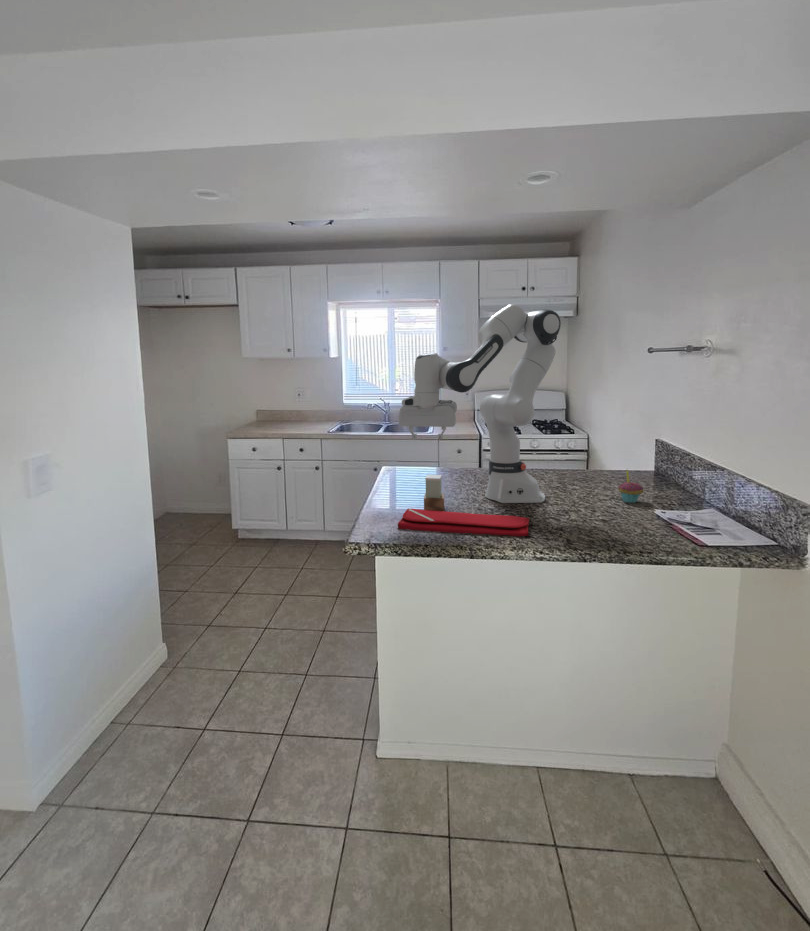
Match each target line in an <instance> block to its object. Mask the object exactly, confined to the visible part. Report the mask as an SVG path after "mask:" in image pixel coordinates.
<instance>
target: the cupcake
mask: <svg viewBox="0 0 810 931" xmlns="http://www.w3.org/2000/svg"><path fill="white" fill-rule="evenodd" d="M626 480H627V481H626V482H623V483H621V484H620V485H619V486H618V492H619V493H620V496H621V499H622V501H623V502H624V503H629V504H631V503H632V504H633V503H637V502H638V499H639V497H640V495H642V494H643V492H644V487H643V486H642V485H641V484H640V483H638V482H634V481H630V476H629V470H626Z"/></svg>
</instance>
